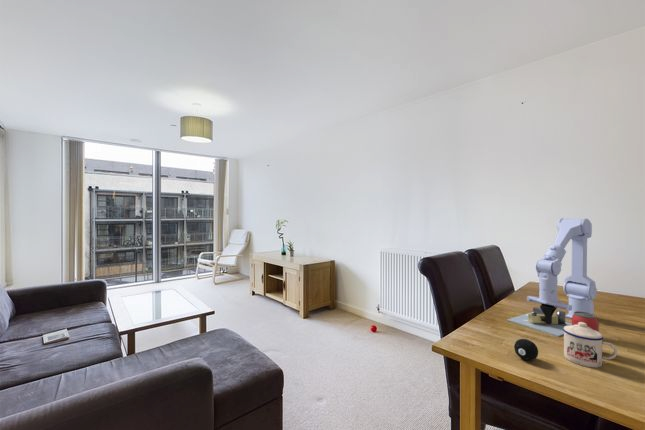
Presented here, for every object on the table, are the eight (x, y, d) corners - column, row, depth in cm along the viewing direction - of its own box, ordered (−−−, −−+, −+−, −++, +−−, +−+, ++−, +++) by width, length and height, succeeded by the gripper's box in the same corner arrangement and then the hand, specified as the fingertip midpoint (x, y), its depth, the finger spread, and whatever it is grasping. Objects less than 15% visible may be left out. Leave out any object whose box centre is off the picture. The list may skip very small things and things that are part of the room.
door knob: (557, 321, 117) (557, 309, 117) (568, 324, 114) (568, 312, 114) (553, 323, 115) (553, 311, 116) (564, 326, 112) (564, 313, 112)
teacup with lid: (562, 360, 86) (562, 323, 86) (563, 350, 93) (563, 315, 93) (618, 376, 78) (618, 334, 78) (616, 363, 85) (616, 325, 85)
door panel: (530, 313, 128) (530, 312, 128) (581, 327, 112) (581, 326, 112) (507, 320, 119) (507, 319, 119) (558, 336, 103) (558, 335, 103)
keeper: (535, 313, 126) (535, 307, 126) (546, 316, 123) (546, 309, 123) (532, 314, 125) (533, 307, 125) (543, 317, 122) (543, 310, 122)
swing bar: (553, 321, 116) (553, 311, 116) (558, 323, 114) (558, 313, 114) (528, 321, 117) (528, 310, 117) (532, 323, 114) (532, 312, 114)
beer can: (604, 356, 90) (604, 318, 90) (580, 353, 91) (580, 316, 91) (589, 346, 96) (589, 311, 96) (566, 344, 97) (567, 310, 97)
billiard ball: (541, 360, 87) (541, 341, 87) (533, 366, 83) (533, 346, 83) (519, 352, 92) (519, 334, 92) (510, 357, 88) (510, 338, 88)
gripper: (522, 286, 117) (523, 319, 117) (565, 295, 104) (566, 331, 104) (531, 284, 121) (531, 316, 121) (574, 292, 108) (574, 328, 108)
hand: (548, 323), depth 113 cm, fingers closed, pressing on swing bar
